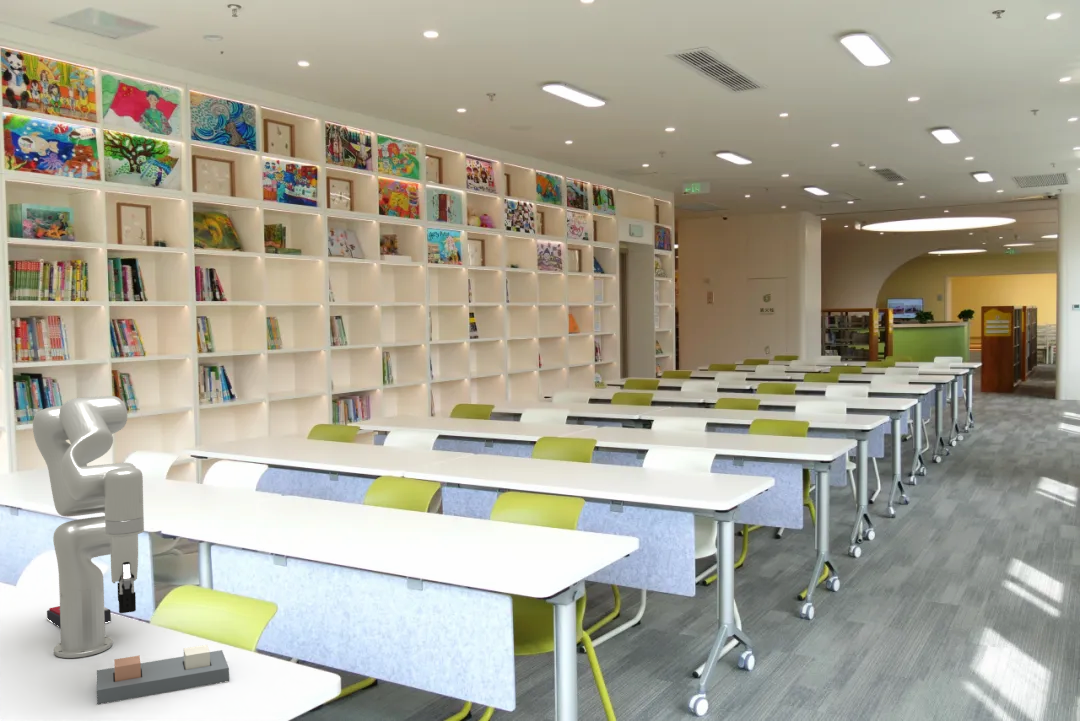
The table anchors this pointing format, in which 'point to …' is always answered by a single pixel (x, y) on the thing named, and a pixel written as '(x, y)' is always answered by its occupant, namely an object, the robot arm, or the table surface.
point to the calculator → (54, 615)
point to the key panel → (161, 678)
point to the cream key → (196, 657)
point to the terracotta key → (127, 668)
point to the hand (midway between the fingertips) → (126, 605)
